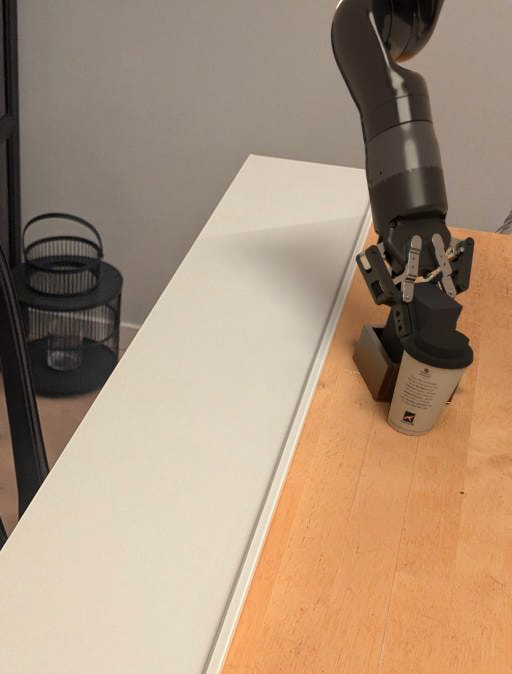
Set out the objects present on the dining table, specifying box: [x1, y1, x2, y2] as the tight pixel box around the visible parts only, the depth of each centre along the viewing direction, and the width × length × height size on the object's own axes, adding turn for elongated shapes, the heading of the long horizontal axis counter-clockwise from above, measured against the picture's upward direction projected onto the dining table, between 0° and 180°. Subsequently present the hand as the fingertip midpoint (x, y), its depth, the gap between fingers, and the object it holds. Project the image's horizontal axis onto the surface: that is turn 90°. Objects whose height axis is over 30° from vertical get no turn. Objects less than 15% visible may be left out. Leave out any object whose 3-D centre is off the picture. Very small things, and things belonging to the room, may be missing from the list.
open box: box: [352, 323, 462, 403], centre depth 104 cm, size 9×10×4 cm
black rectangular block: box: [380, 281, 464, 364], centre depth 101 cm, size 4×6×8 cm, turn 17°
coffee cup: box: [386, 327, 474, 437], centre depth 95 cm, size 7×7×10 cm
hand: (428, 338), depth 100 cm, fingers closed on black rectangular block, 4 cm apart
